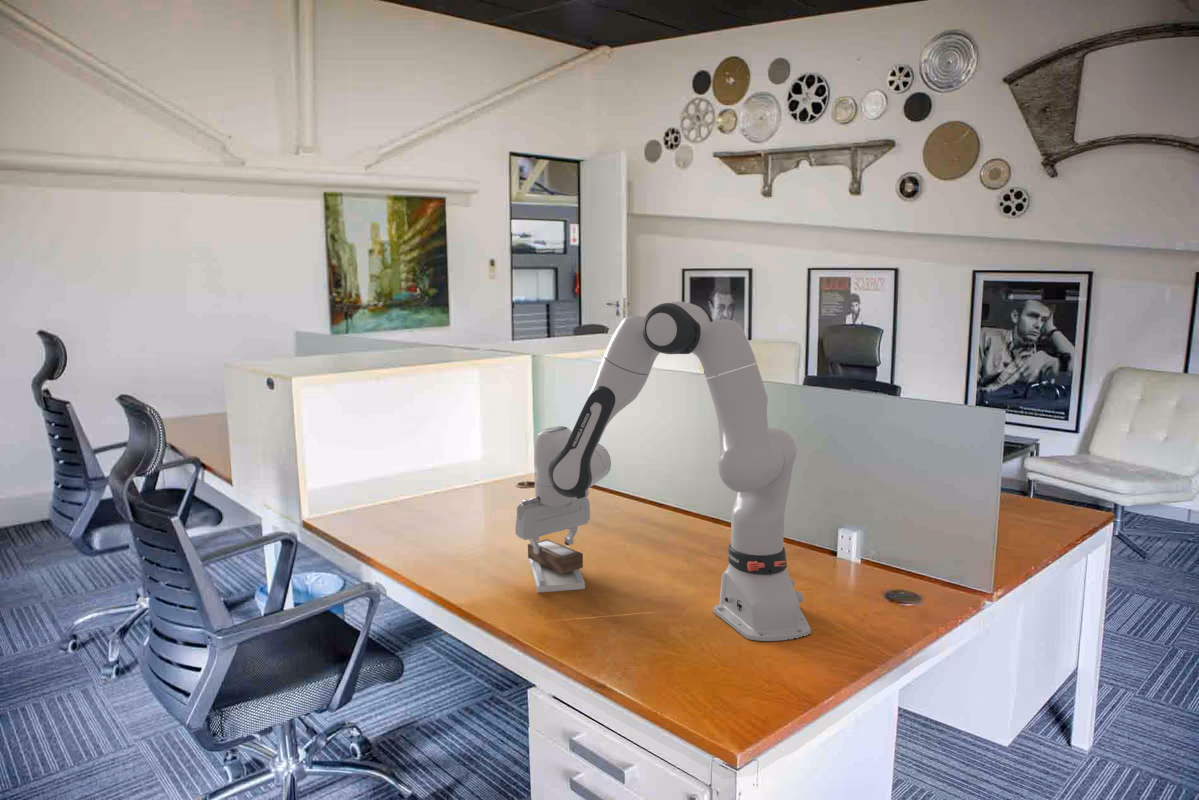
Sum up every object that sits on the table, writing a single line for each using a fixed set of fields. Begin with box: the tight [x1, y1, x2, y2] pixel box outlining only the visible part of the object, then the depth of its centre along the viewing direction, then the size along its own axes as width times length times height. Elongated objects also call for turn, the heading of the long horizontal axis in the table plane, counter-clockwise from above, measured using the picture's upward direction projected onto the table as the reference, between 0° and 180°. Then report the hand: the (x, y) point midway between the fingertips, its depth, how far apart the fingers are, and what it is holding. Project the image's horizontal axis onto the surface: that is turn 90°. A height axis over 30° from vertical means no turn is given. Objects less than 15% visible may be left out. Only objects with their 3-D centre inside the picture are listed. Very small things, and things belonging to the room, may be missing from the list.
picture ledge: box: [527, 545, 586, 594], centre depth 199 cm, size 22×11×3 cm, turn 10°
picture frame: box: [527, 538, 584, 574], centre depth 198 cm, size 14×6×4 cm, turn 40°
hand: (553, 548), depth 198 cm, fingers open, 8 cm apart
